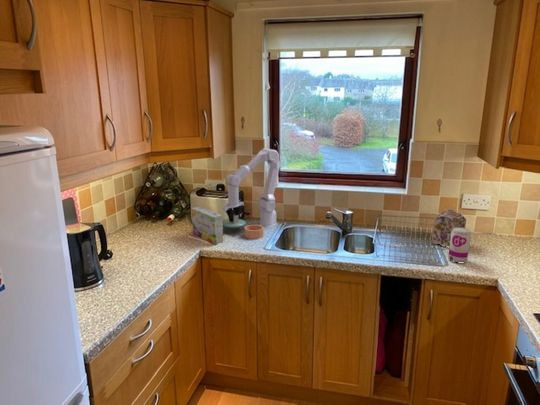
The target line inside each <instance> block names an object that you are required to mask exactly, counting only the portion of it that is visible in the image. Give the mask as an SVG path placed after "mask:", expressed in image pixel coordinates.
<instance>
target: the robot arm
mask: <svg viewBox="0 0 540 405" xmlns="http://www.w3.org/2000/svg"><path fill="white" fill-rule="evenodd" d="M262 162H263V163H264V162H266V163H267V164H268V165H269V167H268V174H267V177H266V184H265V188H264V193H262V194H261V195H260V198H259V200H258V207H259V210H260V216H259V218H260V219H259V220H260V221H259V224H257V225H260V226H263V227H264V228H265V229H266V228H267V229H268V228H271V227H274V226H277V225H278V223H277V212H276V210H275V208H276V198H275V195H274V194H275V191H276V186H277V181H278V177H279V176H278V175H279V173H280V168H281V162H280V154H279V153H278V151H277V150H276V149H272V148H271V149H270V148H267V147H264V148H262V149H261V150H259V151H258V153H257V154H256V155H255V156H254V157H253V158H252V159H251V160H250V161H249V162H248V163H247V164H243V165H239V167H238V169H236V170H235V171H233V172H232V173H231V174H228V175H227V177H226V178H225V183H226V184H227V199H228V200H227V203H226V205H224V206H222V210H223V211H224V212H225V213H226V214H227V217H228V219H229V221H230V222H233V217H234V214H235V215H238V219H240V214H241V211H242V210H243V207H242V206H245V204H244V203H245V202H244V201H240V200H239V199H240V196H239V192H240V191H239V186H240V184H241V181H242V180H244V179H245V178H246V177H247V176H248V175H250V173H251V170H252V169H254V168H255V167H256V166H257V165H259V164H260V163H262Z"/></svg>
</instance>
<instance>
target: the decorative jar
mask: <svg viewBox="0 0 540 405" xmlns="http://www.w3.org/2000/svg"><path fill="white" fill-rule="evenodd" d="M466 223H467V219H466V218H465V217H464V215H463V214H462V213H458V212H457V210H456V209H446V211H441V212H438V214H437V215H436V216H435V217H434V221H433V228H432V235H431V236H432V237H431V243H432V245H433V244H434V245H436V244H440V245H445V246H450V239H451V232H452V230H453V229H454V228H457V227H458V228H466V225H467V224H466ZM440 245H439V246H440Z"/></svg>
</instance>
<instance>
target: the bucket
mask: <svg viewBox="0 0 540 405" xmlns="http://www.w3.org/2000/svg"><path fill="white" fill-rule="evenodd" d="M244 227H245V228H244V233H243V236H244V238H246V239H249V240H258V239H262V238H264V232H265V229H264V228H265V227H263V226H260V225H258V224H248V225H244Z"/></svg>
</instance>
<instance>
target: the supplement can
mask: <svg viewBox="0 0 540 405" xmlns="http://www.w3.org/2000/svg"><path fill="white" fill-rule="evenodd" d="M471 238H472V233H471V230H470V229H469V228H466V227H465V228H458V227H457V228H454V229H453V230H452V232H451V239H450V246H449V248H448V254H447V255H448V256H447V259H448V261H450V260H451V261H454V262H465V263H466V261H467V262H468V258H469V251H470V246H471ZM451 261H450V262H451ZM454 262H453V263H454Z"/></svg>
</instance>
